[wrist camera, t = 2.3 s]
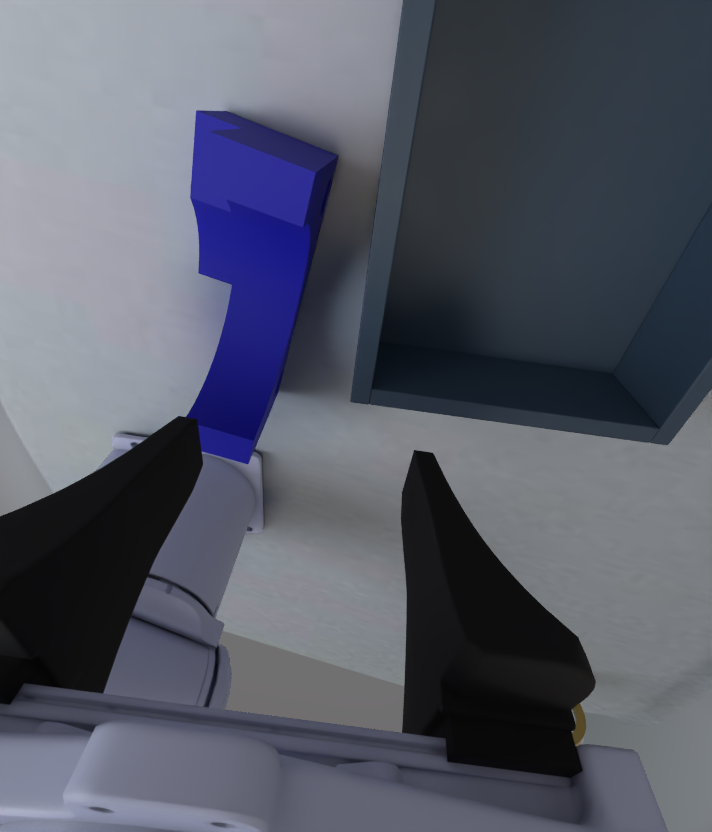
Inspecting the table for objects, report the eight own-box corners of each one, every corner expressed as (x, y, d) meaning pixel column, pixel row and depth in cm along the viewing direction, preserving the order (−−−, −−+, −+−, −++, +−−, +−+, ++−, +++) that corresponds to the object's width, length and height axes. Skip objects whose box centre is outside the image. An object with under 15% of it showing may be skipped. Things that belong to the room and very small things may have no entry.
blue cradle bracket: (226, 111, 15) (152, 109, 11) (338, 155, 16) (315, 172, 11) (199, 367, 22) (147, 436, 18) (278, 392, 23) (248, 464, 18)
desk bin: (358, 346, 21) (350, 402, 17) (439, -259, 11) (469, -499, 6) (615, 382, 21) (668, 446, 17) (948, -179, 11) (1293, -364, 7)
